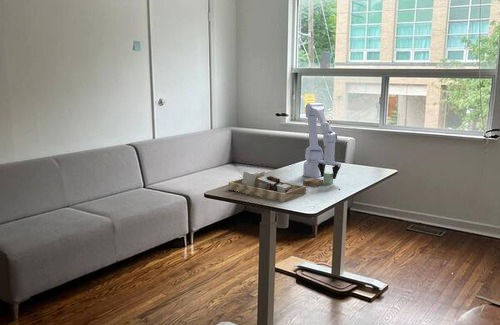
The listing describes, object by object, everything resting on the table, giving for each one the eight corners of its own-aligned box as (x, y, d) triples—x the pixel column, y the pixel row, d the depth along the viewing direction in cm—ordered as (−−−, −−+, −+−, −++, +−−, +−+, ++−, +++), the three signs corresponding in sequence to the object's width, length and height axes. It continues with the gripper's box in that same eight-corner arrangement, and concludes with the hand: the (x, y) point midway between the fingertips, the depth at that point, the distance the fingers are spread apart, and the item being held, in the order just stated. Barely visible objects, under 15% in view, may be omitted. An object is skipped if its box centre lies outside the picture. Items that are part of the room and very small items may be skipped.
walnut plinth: (303, 185, 269) (303, 180, 268) (310, 182, 275) (311, 177, 274) (315, 187, 264) (315, 182, 263) (322, 185, 270) (323, 179, 269)
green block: (323, 183, 272) (323, 173, 271) (326, 182, 275) (327, 172, 274) (329, 184, 270) (329, 174, 268) (333, 183, 273) (333, 173, 271)
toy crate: (228, 189, 256) (228, 182, 256) (252, 182, 272) (252, 176, 271) (283, 202, 234) (284, 194, 233) (306, 193, 249) (306, 186, 248)
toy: (298, 199, 250) (250, 183, 265) (301, 182, 248) (253, 166, 262) (287, 205, 240) (238, 187, 254) (290, 187, 237) (240, 170, 252)
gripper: (314, 153, 270) (313, 176, 273) (337, 156, 261) (336, 180, 264) (321, 151, 276) (320, 174, 278) (343, 154, 267) (342, 178, 269)
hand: (328, 177), depth 272 cm, fingers open, 7 cm apart
